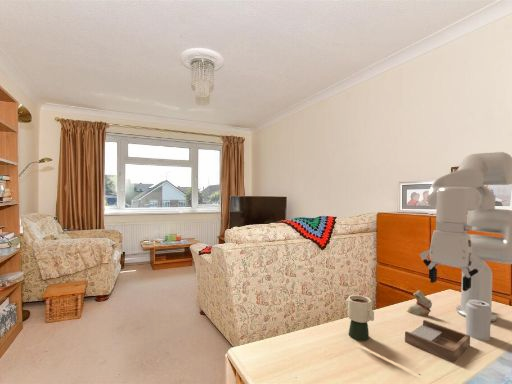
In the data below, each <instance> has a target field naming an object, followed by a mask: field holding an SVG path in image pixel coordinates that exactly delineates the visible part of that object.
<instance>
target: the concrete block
mask: <svg viewBox="0 0 512 384" xmlns="http://www.w3.org/2000/svg"><path fill="white" fill-rule="evenodd" d="M410 333H412V334H415V335H417V336H420V337H422V338H425V339H428V340H430V341H433V342H435V343H437V342H438V341H440V340H441V339H442V332H441V331H438V330H435V329H433V328H430V327H427V326H424V325H423V324H422V325H420V326H418V327H417V328H416V329H413V330H412V331H410Z"/></svg>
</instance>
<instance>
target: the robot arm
mask: <svg viewBox="0 0 512 384" xmlns="http://www.w3.org/2000/svg"><path fill="white" fill-rule="evenodd" d="M485 185H487V186H489V185H490V186H508V185H512V156H511V154H509V153H508V152H504V151H498V152H497V151H496V152H482V153H479V152H478V153H472V154H470V155H467V156H466V157H464V158H463V159H462V161H461V163H460V164H459V166H458V168H457V169H456V170H454V171H452V172H450V173H447V174H445V175H443V176H441V177H439V178H436V179H435V180H434V181H433V183H432V184H431V186H430V188H429V190H428V192H427V196H426V201H427V204H428V206H429V207H430V208H431V209H435V210H436V213H435V214H436V215H435V218H436V220H435V229H434V230H433V232H432V235H431V240H430V247H429V249H428V250H425V251H423V252H421V253H419V256H420V258H421V260H422V261H423V263H424V265H425V266H426V267H427V269H428V279H429V281H430V283H432V284H433V283H435V282H437V280H438V269H437V268H436V267H437V266H438V265H443V266H447V267H453V268H457V269H458V268H459V269H460V270H461V287H460V288H461V291H460V292H461V294H460V305H456V307H455V311H456V312H457V313H458V314H459V315H462V316H463V317H465V318H466V304H467V303H468V300H470V299H474V300H480V301H483V302H486V303H488V304H489V307H490V308H491V309H492V302H493V272H492V269H491V267H490V266H489V264H487V263H486V261H487V262H494V263H500V264H505V265H512V210H511V209H503V208H496V196H495V194H494V193H493V192H492V191H491V189H489V188H488V187H487V186H485ZM468 231H473V232H479V233H488V234H498V235H501V236H503V237H501V236H493V235H492V236H491V235H483V234H482V235H481V234H472V233H471V234H470V233H467V232H468ZM428 255H429V259H428ZM496 320H497V315H496V314H495V313H493V312H492V311H491V322H495V321H496Z"/></svg>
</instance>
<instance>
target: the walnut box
mask: <svg viewBox="0 0 512 384" xmlns="http://www.w3.org/2000/svg"><path fill="white" fill-rule="evenodd" d="M422 325H424V326H427V327H430V328H433V329H435V330H438V331H441V332H442V339H441V340H440V341H438V342H437V343H435V342H433V341H430V340H428V339H425V338H422V337H420V336H417V335H415V334H412V333H411V331H405V332H404V342H405V343H407V344H408V345H411V346H414V347H416V348H418V349H421V350H423V351H426V352H428V353H431V354H432V355H434V356H437V357H440V358H442V359H444V360H446V361H449V362H451V363H455V361H456V360H457V359H458V358H459V357H461V355H463V353H465V351H466V350H468V348H469V347H470V346H471V337H470V336H469V335H467V334H466V333H464V332H460V331H457V330H455V329H451V328H449V327H446V326H443V325H441V324H437V323H435V322H432V321H429V320H426V319H423V320H422Z"/></svg>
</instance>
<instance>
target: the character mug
mask: <svg viewBox="0 0 512 384" xmlns="http://www.w3.org/2000/svg"><path fill="white" fill-rule="evenodd" d="M345 308H346V309H347V317H348V319H349V320H350V323H349V329H348V336H349V337H350V338H351V339H353V340H355V341H357V342H358V341H360V342H367V341H369V339H370V336H369V335H370V332H369V325H368V323H369V322H370V321H371V322H374V320H375V311H374V310H373V309H372V299H371V298H369V297H367V296H365V295H360V294H352V295H348V298H346V301H345Z"/></svg>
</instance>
